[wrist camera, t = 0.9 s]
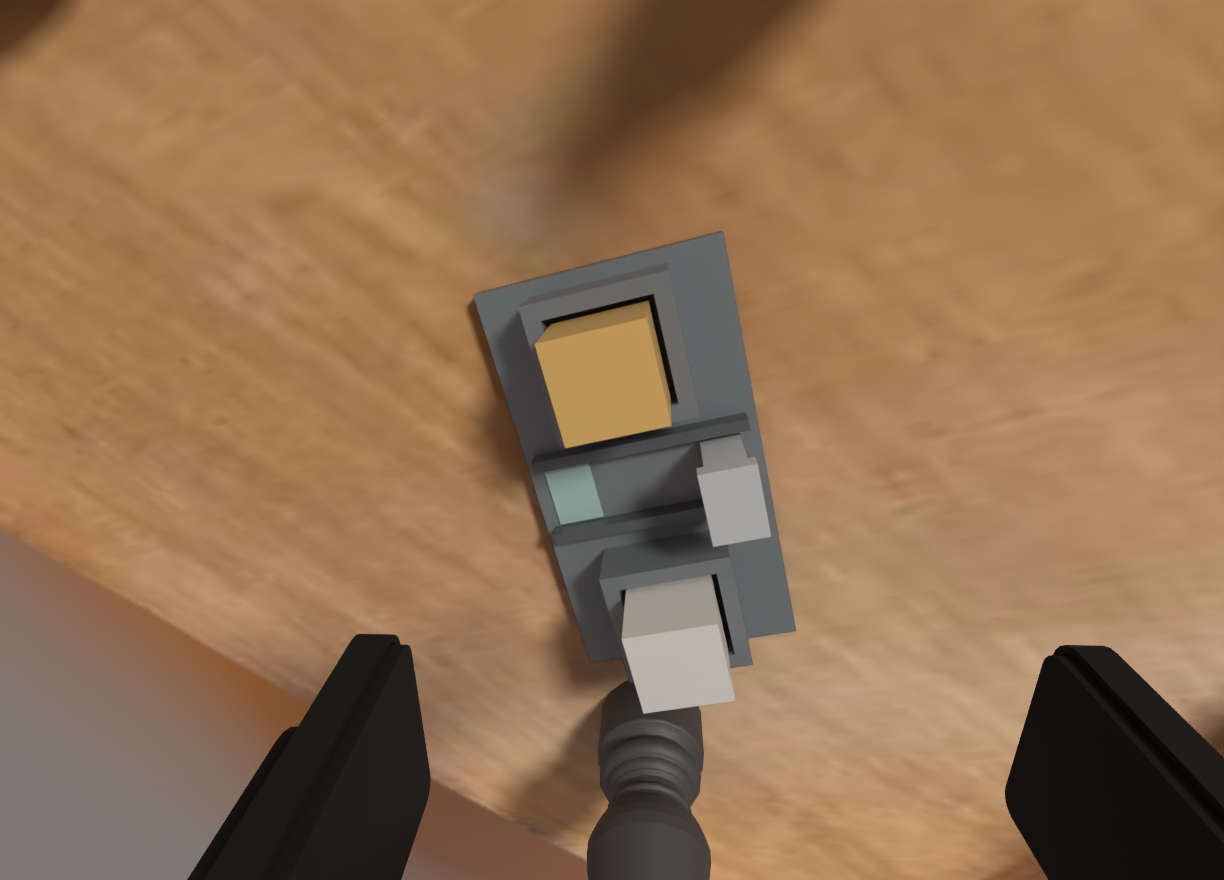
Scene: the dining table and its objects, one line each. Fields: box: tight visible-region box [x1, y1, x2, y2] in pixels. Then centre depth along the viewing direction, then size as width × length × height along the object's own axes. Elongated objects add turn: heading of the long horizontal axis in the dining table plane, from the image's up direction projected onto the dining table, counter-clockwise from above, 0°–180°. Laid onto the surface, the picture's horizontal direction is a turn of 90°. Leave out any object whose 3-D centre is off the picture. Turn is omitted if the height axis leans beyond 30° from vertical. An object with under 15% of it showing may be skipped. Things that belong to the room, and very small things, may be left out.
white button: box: [622, 575, 735, 714], centre depth 32 cm, size 4×4×4 cm
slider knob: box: [696, 433, 771, 547], centre depth 30 cm, size 3×4×5 cm
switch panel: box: [473, 231, 796, 683], centre depth 33 cm, size 12×22×4 cm, turn 14°
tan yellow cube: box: [535, 300, 672, 448], centre depth 27 cm, size 4×4×4 cm
